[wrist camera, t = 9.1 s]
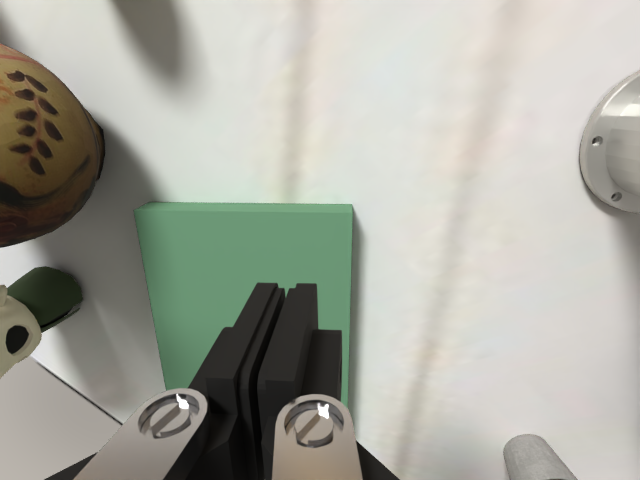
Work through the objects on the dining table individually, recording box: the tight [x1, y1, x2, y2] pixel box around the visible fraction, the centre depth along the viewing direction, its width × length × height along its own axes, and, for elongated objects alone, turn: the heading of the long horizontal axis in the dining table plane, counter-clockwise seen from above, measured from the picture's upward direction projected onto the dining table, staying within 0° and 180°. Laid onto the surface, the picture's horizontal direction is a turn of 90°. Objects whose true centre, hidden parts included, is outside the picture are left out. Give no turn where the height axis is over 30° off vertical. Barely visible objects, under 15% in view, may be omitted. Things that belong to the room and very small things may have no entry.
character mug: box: [0, 266, 83, 378], centre depth 35 cm, size 11×7×13 cm, turn 152°
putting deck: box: [134, 202, 353, 409], centre depth 40 cm, size 30×20×3 cm, turn 0°
